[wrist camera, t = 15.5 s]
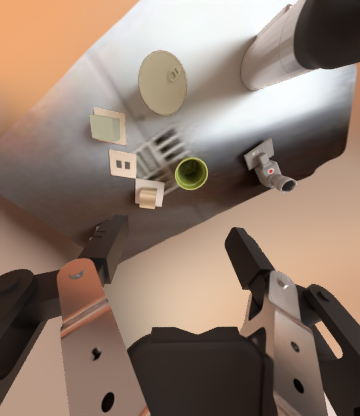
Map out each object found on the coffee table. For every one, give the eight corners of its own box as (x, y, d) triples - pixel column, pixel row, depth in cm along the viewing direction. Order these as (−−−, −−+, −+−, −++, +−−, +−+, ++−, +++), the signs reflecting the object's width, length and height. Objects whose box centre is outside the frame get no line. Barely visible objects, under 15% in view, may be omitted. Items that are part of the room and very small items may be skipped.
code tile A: (109, 149, 41) (108, 149, 41) (136, 154, 42) (136, 154, 42) (111, 174, 45) (111, 174, 45) (135, 178, 47) (135, 178, 46)
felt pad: (135, 178, 47) (135, 178, 46) (164, 182, 48) (164, 182, 48) (135, 202, 52) (135, 203, 52) (161, 206, 53) (161, 206, 53)
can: (189, 98, 36) (197, 90, 26) (163, 124, 39) (161, 125, 29) (166, 59, 32) (164, 31, 22) (139, 91, 34) (126, 79, 24)
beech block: (143, 186, 48) (139, 194, 43) (157, 188, 49) (155, 196, 44) (142, 198, 51) (139, 207, 46) (155, 200, 51) (154, 208, 46)
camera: (276, 202, 42) (260, 163, 35) (256, 187, 52) (240, 154, 45) (306, 186, 39) (295, 140, 32) (279, 173, 49) (266, 136, 42)
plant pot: (204, 174, 48) (210, 184, 40) (179, 183, 49) (180, 193, 41) (198, 147, 43) (203, 152, 35) (170, 157, 44) (170, 164, 36)
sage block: (100, 115, 36) (88, 114, 31) (119, 119, 37) (111, 118, 32) (102, 135, 39) (92, 137, 34) (120, 139, 40) (113, 141, 35)
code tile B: (93, 107, 36) (93, 106, 35) (125, 113, 37) (125, 113, 36) (97, 140, 40) (97, 140, 39) (126, 145, 41) (125, 145, 41)
